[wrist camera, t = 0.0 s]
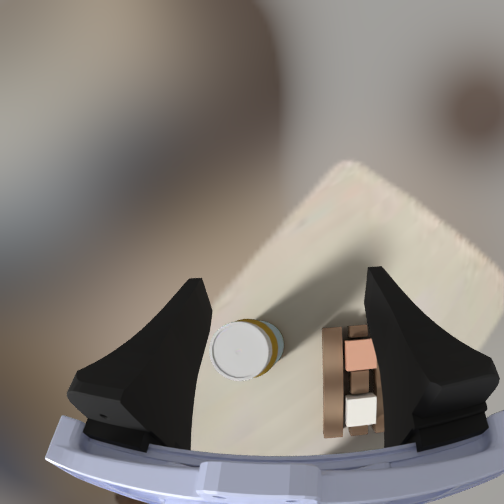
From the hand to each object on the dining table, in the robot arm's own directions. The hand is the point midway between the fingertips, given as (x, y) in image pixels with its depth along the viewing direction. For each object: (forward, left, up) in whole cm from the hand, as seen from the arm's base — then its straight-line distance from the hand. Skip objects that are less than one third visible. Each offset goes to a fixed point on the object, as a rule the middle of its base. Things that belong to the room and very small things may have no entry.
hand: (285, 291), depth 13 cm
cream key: (-14, -8, -31) cm, 35 cm away
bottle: (-4, +6, -32) cm, 33 cm away
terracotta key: (-6, -8, -31) cm, 32 cm away
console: (-10, -8, -32) cm, 35 cm away
